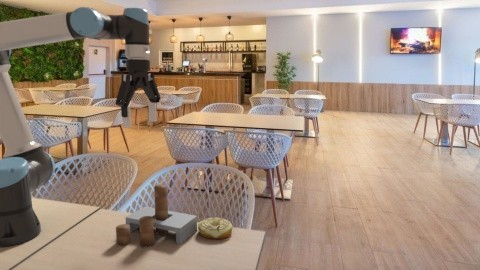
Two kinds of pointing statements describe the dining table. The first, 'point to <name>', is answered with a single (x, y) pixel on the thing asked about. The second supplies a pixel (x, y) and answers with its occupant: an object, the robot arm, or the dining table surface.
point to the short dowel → (123, 234)
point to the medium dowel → (146, 231)
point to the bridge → (166, 222)
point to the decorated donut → (215, 228)
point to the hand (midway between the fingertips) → (140, 124)
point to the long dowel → (161, 205)
